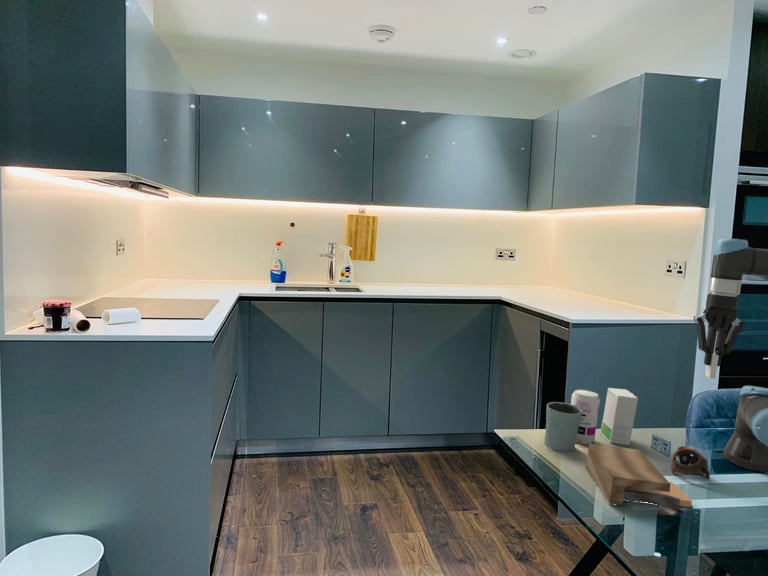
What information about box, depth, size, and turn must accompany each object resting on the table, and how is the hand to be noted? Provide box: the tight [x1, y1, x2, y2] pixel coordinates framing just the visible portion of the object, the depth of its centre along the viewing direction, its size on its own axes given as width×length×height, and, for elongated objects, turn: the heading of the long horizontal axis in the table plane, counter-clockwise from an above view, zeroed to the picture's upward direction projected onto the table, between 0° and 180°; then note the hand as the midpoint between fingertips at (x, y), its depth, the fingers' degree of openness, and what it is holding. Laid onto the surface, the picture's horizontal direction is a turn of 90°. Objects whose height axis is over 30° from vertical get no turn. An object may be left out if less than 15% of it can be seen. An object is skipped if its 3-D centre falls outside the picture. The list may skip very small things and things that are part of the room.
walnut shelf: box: [585, 443, 680, 511], centre depth 137 cm, size 17×20×7 cm
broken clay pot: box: [670, 445, 711, 480], centre depth 151 cm, size 12×10×8 cm
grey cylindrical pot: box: [544, 401, 582, 453], centre depth 161 cm, size 10×10×12 cm
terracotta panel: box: [625, 481, 693, 508], centre depth 136 cm, size 16×10×2 cm, turn 87°
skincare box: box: [600, 387, 639, 446], centre depth 171 cm, size 8×7×16 cm
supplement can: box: [570, 389, 601, 445], centre depth 168 cm, size 8×8×15 cm
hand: (709, 376), depth 154 cm, fingers closed
